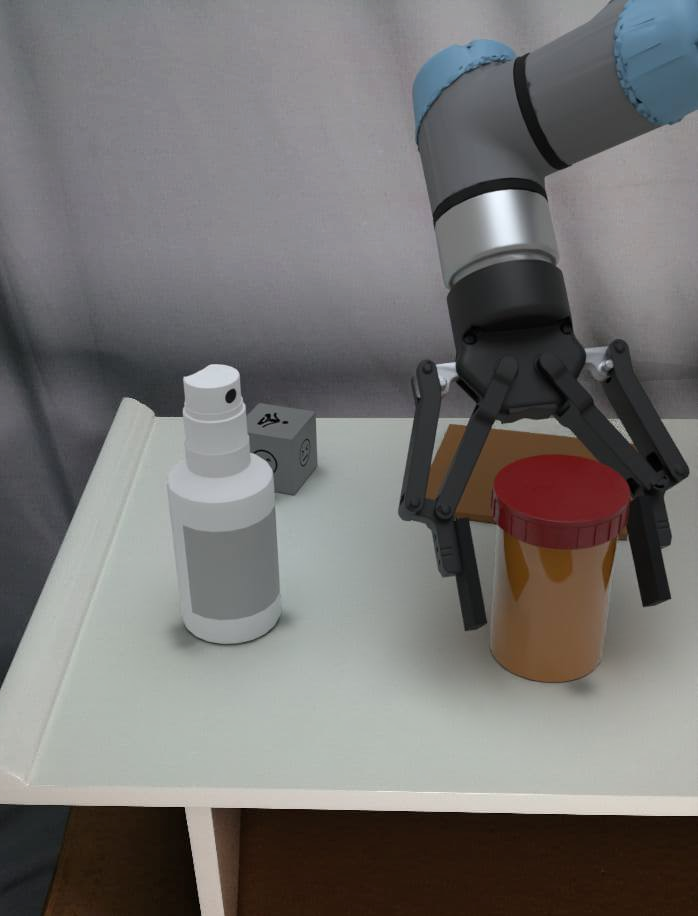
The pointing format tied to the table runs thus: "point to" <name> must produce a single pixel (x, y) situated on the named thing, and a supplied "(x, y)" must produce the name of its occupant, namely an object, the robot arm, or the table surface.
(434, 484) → the mat
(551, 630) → the jar
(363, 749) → the table surface
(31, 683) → the table surface
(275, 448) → the gray cube
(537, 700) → the table surface
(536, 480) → the lid
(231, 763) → the table surface
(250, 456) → the spray bottle
